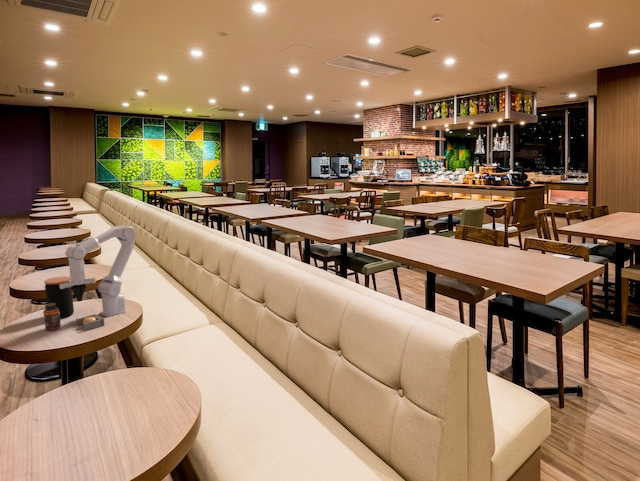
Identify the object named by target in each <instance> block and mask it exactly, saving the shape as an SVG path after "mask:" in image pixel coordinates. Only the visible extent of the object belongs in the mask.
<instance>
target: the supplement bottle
mask: <svg viewBox="0 0 640 481" xmlns="http://www.w3.org/2000/svg"><path fill="white" fill-rule="evenodd" d="M42 313H43V319H44V321H43V322H44V328H45V330H46V331H47V332H48V331H49V332H50V331H56V330H59V329H60V328H62V322H61V319H60V313H59V308H57V307H56V303H49V304H47V303H46V304H45V305H44V310H43V311H42Z"/></svg>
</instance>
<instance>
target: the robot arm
mask: <svg viewBox="0 0 640 481" xmlns="http://www.w3.org/2000/svg"><path fill="white" fill-rule="evenodd" d="M137 234H138V233H137V232H136V230H135V228H134V226H131V225H123V224H117V225H115V226H112V227H111V228H109V229H108V230H107V231H105V232H102V233H101V234H99V235H98V236H96V237H93V236H91V237H88V236H87V237H86V238H85V239H84V240H82V241H80V242H77V243H76V244H75V245H69V246H68V247H67V248H66V251H65V252H64V254H65V257H67V259H68V269H69V277H70V282H67V283H63V284H59V285H60V289H64V288H68V287H70V288H71V289H72V293H73V294H74V297H75V299H76V301H77V302H79V303H80V302H82V301H83V296H84V294H85V290H86V289H87V285H89V284H96V278H94V277H93V278H86V277H85V264H84V258H85V256H86V255H87V254H89V253H91V252H93V251H94V250H96V249H98V248H99V246H100V244H103V243H104V242H106V241H108V240H111V239H113V238H116V240H118V241H119V243H120V245H121V246H120V248H119V250H118V253H117V255H116V257H115V259H114V262H113V264H112V265H111V268H110V270H109V272H108V274H107V275H106V276H105V277H103V278H102V280H101V281H100V282H99V284H98V285H97V292H99V293H100V296H101V304H102V311H99V314H101V315H103V316H105V317H106V318H107V317H111V316H115V315H119V314H123V313H126V312H127V310H126V302H125V297H124V295H123V293H122V292H121V287H122V284H123V282H122V280H121V277H122V275H123V273H124V270H125V268H126V266H127V263H128V261H129V259H130V257H131V255H132V253H133V250H134V247H135V240H136V236H137ZM120 292H121V293H120Z"/></svg>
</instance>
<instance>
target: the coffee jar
mask: <svg viewBox="0 0 640 481" xmlns="http://www.w3.org/2000/svg"><path fill="white" fill-rule="evenodd" d="M67 282H70V276H56V277H51V278H47V279H45V280H44V281H43V283H44V290H45V300H46V304H49V303H56V307H57V308H59V313H60V320H61V319H66V318H69V317H71V316H73V314H74V313H75V308H74V299H73V291H72V289H71V288H70V287H68V288H64V289H60V285H59V284H63V283H67Z"/></svg>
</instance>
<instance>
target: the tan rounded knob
mask: <svg viewBox="0 0 640 481" xmlns="http://www.w3.org/2000/svg"><path fill="white" fill-rule="evenodd" d="M86 317H87V316H86ZM95 320H96V318H95V317H87V318H84V319H83V325H82V326H84V323H88V322H92V321H95Z"/></svg>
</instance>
